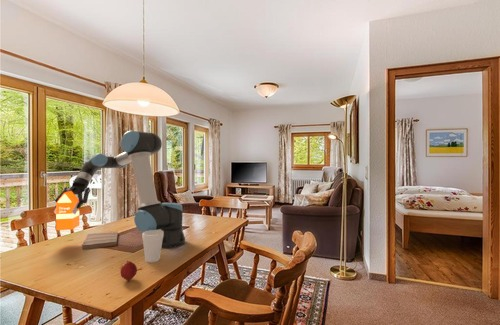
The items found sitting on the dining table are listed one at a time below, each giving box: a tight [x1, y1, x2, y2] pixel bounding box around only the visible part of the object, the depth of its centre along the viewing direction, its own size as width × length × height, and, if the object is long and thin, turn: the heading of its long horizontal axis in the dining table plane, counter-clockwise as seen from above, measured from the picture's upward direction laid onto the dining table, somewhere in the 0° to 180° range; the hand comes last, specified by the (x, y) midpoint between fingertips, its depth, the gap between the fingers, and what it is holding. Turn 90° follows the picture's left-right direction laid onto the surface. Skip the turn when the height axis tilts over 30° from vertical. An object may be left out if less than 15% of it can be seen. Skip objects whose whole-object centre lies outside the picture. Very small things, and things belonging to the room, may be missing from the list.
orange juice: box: [55, 191, 80, 231], centre depth 138 cm, size 8×9×20 cm
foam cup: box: [141, 229, 164, 263], centre depth 119 cm, size 10×9×13 cm
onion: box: [120, 260, 138, 282], centre depth 98 cm, size 6×6×8 cm
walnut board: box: [81, 230, 119, 250], centre depth 144 cm, size 22×16×2 cm
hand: (64, 213), depth 135 cm, fingers closed on orange juice, 9 cm apart
